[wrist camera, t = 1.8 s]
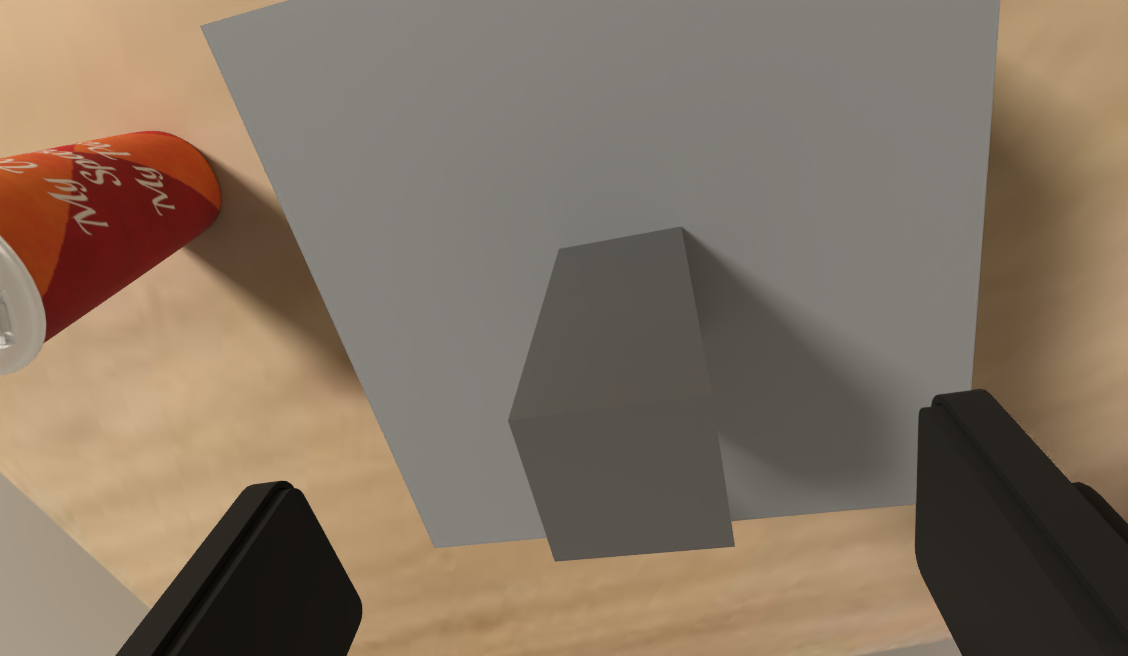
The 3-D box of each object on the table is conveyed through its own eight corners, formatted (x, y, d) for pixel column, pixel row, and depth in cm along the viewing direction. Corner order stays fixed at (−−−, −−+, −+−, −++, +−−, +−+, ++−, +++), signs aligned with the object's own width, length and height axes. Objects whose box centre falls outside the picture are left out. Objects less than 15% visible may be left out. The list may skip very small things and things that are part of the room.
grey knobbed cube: (791, -94, 26) (1526, -476, 5) (811, 260, 33) (1132, 767, 12) (431, 4, 29) (-147, 57, 8) (520, 309, 37) (351, 778, 15)
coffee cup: (240, 130, 34) (-14, 222, 21) (243, 267, 38) (32, 417, 25) (85, 90, 33) (-270, 156, 20) (105, 231, 37) (-181, 364, 24)
